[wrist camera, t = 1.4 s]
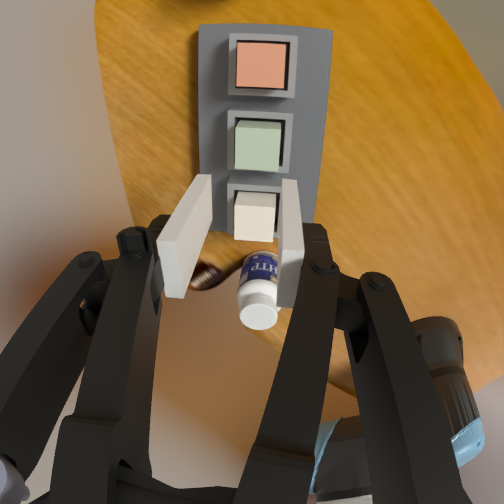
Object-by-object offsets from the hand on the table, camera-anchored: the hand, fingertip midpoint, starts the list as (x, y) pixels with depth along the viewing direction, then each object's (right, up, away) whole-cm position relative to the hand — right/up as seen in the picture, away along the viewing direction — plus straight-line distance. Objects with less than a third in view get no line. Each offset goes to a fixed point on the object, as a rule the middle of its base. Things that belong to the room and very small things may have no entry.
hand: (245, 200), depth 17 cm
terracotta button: (+1, +13, +6) cm, 15 cm away
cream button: (+1, +1, +14) cm, 15 cm away
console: (+1, +9, +14) cm, 17 cm away
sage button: (+1, +7, +10) cm, 13 cm away
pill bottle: (+2, -4, +23) cm, 24 cm away
